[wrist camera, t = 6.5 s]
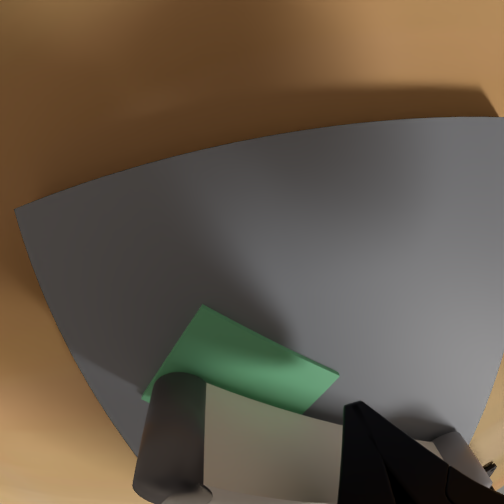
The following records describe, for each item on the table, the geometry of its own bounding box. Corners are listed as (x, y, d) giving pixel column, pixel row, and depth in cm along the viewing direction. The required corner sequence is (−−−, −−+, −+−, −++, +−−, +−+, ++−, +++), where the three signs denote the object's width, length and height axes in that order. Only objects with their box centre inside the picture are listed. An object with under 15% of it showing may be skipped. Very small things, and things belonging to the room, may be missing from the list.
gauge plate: (455, 442, 14) (465, 456, 13) (198, 510, 14) (198, 529, 13) (500, 117, 8) (526, 118, 7) (35, 200, 8) (10, 210, 7)
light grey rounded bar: (470, 433, 12) (500, 479, 8) (428, 472, 13) (452, 518, 9) (175, 343, 8) (156, 449, 5) (138, 410, 9) (118, 502, 6)
